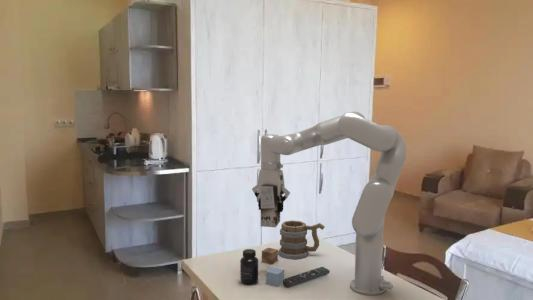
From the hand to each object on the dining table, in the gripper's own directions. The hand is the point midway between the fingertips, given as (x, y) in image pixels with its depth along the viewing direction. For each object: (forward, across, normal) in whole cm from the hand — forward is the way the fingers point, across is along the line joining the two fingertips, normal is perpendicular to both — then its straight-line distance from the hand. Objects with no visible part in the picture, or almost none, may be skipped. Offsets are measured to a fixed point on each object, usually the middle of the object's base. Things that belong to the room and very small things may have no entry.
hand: (270, 210), depth 172 cm
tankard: (+26, -2, -24) cm, 35 cm away
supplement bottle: (+25, +2, +12) cm, 28 cm away
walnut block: (+25, +6, -10) cm, 28 cm away
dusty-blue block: (+25, -7, +8) cm, 27 cm away
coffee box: (+6, 0, 0) cm, 6 cm away
